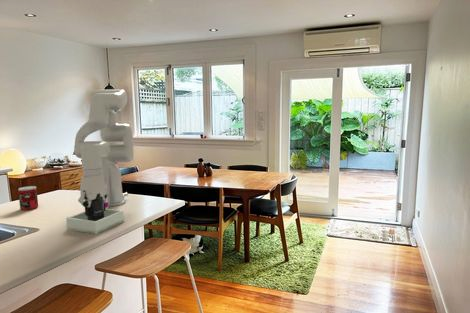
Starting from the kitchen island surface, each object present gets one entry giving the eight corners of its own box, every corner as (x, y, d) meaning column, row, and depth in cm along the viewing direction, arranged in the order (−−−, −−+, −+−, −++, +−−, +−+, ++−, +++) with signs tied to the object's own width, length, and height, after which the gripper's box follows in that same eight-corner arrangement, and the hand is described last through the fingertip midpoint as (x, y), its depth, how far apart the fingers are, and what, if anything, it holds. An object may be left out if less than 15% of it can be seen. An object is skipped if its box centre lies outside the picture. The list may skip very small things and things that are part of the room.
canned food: (16, 210, 165) (14, 189, 163) (31, 205, 172) (29, 185, 170) (27, 211, 162) (24, 190, 160) (41, 207, 169) (39, 186, 168)
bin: (96, 217, 150) (95, 207, 149) (124, 221, 144) (123, 210, 144) (67, 229, 135) (66, 218, 135) (96, 234, 130) (95, 222, 129)
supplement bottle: (98, 223, 136) (96, 195, 134) (84, 222, 137) (81, 194, 135) (108, 218, 142) (106, 191, 141) (94, 217, 144) (92, 190, 142)
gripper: (101, 168, 146) (103, 206, 149) (68, 175, 130) (72, 218, 133) (114, 169, 143) (116, 208, 146) (82, 176, 127) (86, 220, 130)
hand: (95, 212), depth 139 cm, fingers closed on supplement bottle, 6 cm apart
